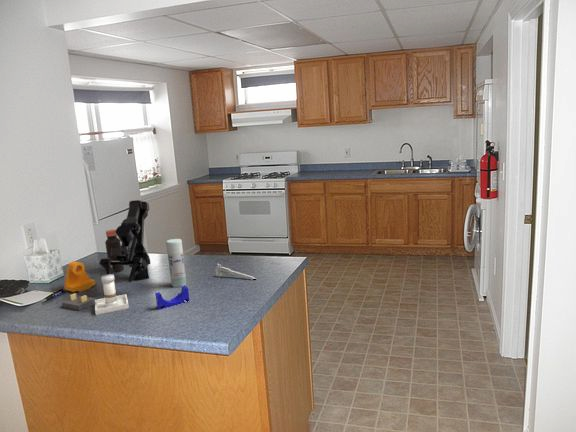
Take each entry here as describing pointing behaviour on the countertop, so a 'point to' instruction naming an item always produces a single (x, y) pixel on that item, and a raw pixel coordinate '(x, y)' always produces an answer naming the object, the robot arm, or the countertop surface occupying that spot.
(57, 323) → the countertop surface
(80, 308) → the fuse block
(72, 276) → the bracket
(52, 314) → the countertop surface
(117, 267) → the bottle
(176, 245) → the spray paint can
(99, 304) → the tray
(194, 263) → the countertop surface
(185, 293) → the cable clip
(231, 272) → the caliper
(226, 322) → the countertop surface
